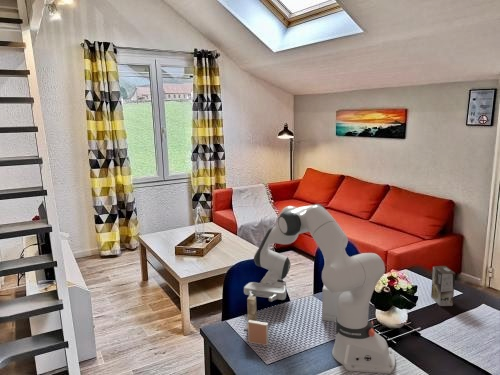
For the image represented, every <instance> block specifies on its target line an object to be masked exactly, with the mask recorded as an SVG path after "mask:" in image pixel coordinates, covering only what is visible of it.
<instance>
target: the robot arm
mask: <svg viewBox="0 0 500 375" xmlns="http://www.w3.org/2000/svg"><path fill="white" fill-rule="evenodd" d="M304 233H309V234H310V235H311V238H312V239H313V240H314V242H315V244H316V245H317V247H318V248H319V250H320V251H321V253H322V256H323V259H324V265H323V268H322V271H321V280H322V283H323V286H324V285H325V287H326V288H327V289H328V290H329V291H331V292H333V293H337V292H343V293H342V294H341V295H340V297H339V299H338V303H337V318H336V322H335V341H334V344H333V348H332V350H331V353H332V357H333V358H334V359H335V360H336V361H337V362H338V363H339V364H341V365H342V366H343V367H344V368H345V370H347V371H349V372H350V371H351V372H361V373H362V372H363V373H375V374H376V373H377V374H378V373H379V374H391V373H393V371H394V369H395V367H396V358H395V354H394V352H393V350H392V349H390V348H389V345H388V343H387V340H386V339H385V338H384V337H383V336H382V335H380V334H379V333H377V332H376V331H375V329H374V328H375V327H374V322H373V320H371V322H370V320H369V311H370V302H371V299H372V296H373V293H374V291H375V288H376V286H377V285H378V282H379V281H380V280H381V279H382V277H383V276H384V274H385V272H386V265H385V262H384V261H383V259H382V257H381V256H380V255H379V254H377V253H374V252H362V253H358V254H354V255H352V256H351V255H350V256H349V255H348V254H347V251H346V248H347V245H348V243H349V238H348V235H347V234H346V233H345V232H344V230H343V229H342V227H341V226H340V224H339V223H338V222H337V221H336V219H335V218H334V217H333V216H332V214H331V213H330V212H329V211H328V210H327V209H326V207H325V206H324V205H322V204H319V203H314V204H311V205H310V204H309V205H305V206H303V205H302V206H294V205H288V206H285V207H283V208H282V209H281V212H280V213H279V215H278V218H277V222H276V225H274V226H271V227H270V228H269V229H268V230H267V231H266V234H265V235H264V236H263V239H262V241H261V243H260V245H259V247H258V249H257V250H256V251H255V252H254V255H253V261H254V264H255V265H256V266H257V267H260V268H263V269H266V270H268V271H267V272H266V273H265V275H264V276H263V278H262V279H261V280H260V282H256V281H250V282H248V283H246V284H245V285H244V286H243V294H244V295H246V296H248V297H249V296H255V297H260V298H267V299H268V302H269V303H272V302H273V301H276V300H281V301H283V300H286V298H287V282H286V281H285V280H284V279H285V278H287V275H288V274H289V271H290V269H291V265H292V264H291V261H290V258H289V257H288V256H286V255H283V254H282V253H279V252H276V251H274V250H272V249H270V244H279V245H291V244H292V243H294V242H295V241H296V240H297V239H298V237H299V235H300V234H304Z"/></svg>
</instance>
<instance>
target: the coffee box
mask: <svg viewBox="0 0 500 375" xmlns="http://www.w3.org/2000/svg"><path fill="white" fill-rule="evenodd" d="M431 276H432V278H431V292H430V297H431V298H432V300H433V301H434V302H435V303H436V304H437V305H438V306H439V307H452V306H453V305H454V294H455V283H456V273H455V271H453V270H452V269H451V268H449V267H448V266H447V265H438V266H437V265H436V266H435V265H434V266H432V275H431Z"/></svg>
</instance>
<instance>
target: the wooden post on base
mask: <svg viewBox="0 0 500 375" xmlns="http://www.w3.org/2000/svg"><path fill="white" fill-rule="evenodd" d="M246 302H247V303H246V304H247V305H246V306H247V322H248V321H249V320H253V321H258V317H257V316H258V314H257V310H258V309H257V296H249V295H248V296H247V298H246ZM244 331H247V332H248V323H247V324H246V326H245V327H244Z"/></svg>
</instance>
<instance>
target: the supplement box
mask: <svg viewBox="0 0 500 375" xmlns="http://www.w3.org/2000/svg"><path fill="white" fill-rule="evenodd" d="M342 293H343V292H337V293H333V292H331V291H329V290H328V289H327V288H326V287H325V285H324V284H323V287H322V294H321V295H322V296H321V297H322V299H321V300H322V301H321V302H322V305H321V306H322V307H321V312H322V313H321V315H322V316H321V320H322V321H325V322H326V321H327V322H333V323H336V318H337V303H338V299H339V297H340V295H341V294H342Z"/></svg>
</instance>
